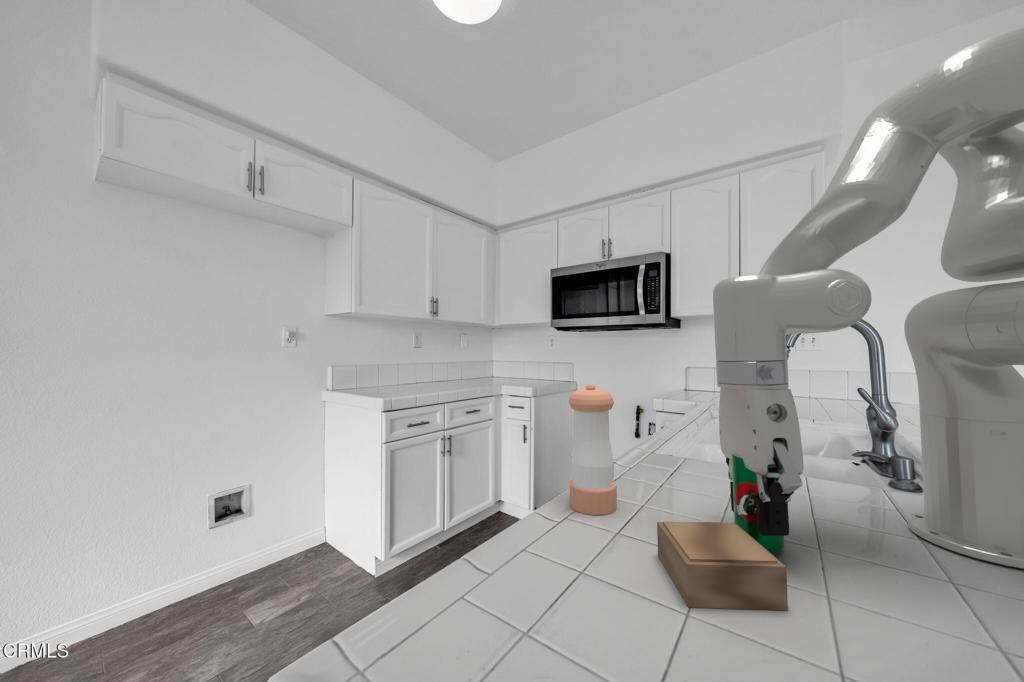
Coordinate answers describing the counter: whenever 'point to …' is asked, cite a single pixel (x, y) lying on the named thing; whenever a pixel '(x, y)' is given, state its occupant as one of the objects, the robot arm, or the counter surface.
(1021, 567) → the robot arm
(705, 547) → the walnut base
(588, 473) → the pepper shaker
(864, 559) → the counter surface
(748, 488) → the soda can
